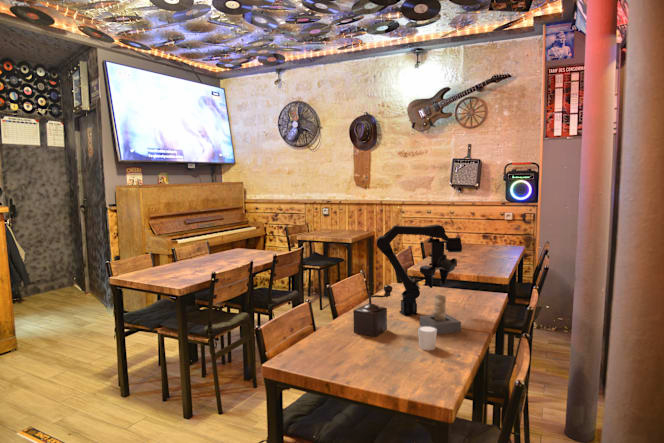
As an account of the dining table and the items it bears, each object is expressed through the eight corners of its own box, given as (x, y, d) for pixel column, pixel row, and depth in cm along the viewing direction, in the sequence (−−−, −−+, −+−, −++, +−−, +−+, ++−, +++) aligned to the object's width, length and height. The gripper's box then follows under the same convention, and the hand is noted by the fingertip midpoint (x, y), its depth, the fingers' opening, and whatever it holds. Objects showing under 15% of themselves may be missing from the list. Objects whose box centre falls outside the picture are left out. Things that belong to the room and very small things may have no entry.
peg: (434, 329, 173) (435, 297, 171) (433, 326, 177) (433, 294, 176) (445, 330, 172) (446, 298, 171) (444, 326, 176) (444, 295, 175)
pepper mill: (376, 337, 165) (376, 292, 163) (352, 332, 171) (352, 289, 170) (394, 326, 178) (394, 284, 176) (372, 321, 184) (371, 281, 182)
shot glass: (415, 349, 153) (415, 330, 153) (420, 342, 159) (420, 324, 159) (434, 352, 150) (434, 333, 150) (438, 345, 156) (439, 327, 156)
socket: (434, 334, 167) (434, 325, 167) (419, 325, 178) (419, 316, 178) (460, 331, 170) (460, 321, 170) (444, 322, 182) (444, 313, 182)
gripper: (439, 257, 178) (439, 293, 180) (465, 252, 190) (464, 285, 192) (418, 254, 187) (418, 288, 189) (444, 249, 199) (444, 281, 200)
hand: (437, 286), depth 192 cm, fingers open, 9 cm apart
